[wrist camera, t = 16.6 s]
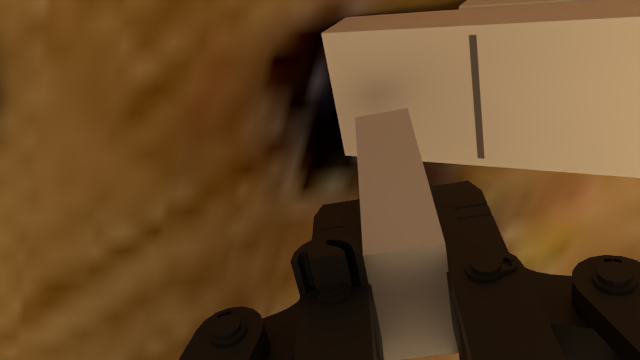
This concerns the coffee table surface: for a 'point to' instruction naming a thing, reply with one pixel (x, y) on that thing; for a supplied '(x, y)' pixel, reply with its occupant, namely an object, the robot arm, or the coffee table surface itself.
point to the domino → (499, 83)
